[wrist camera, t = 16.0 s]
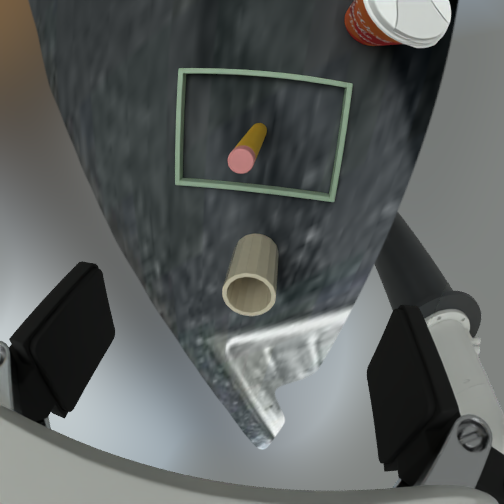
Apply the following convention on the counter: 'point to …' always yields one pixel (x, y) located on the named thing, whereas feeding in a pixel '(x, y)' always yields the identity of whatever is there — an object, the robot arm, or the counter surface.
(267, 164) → the counter surface
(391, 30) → the paper cup
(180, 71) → the tray
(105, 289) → the robot arm
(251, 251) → the pen cup
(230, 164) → the pencil
